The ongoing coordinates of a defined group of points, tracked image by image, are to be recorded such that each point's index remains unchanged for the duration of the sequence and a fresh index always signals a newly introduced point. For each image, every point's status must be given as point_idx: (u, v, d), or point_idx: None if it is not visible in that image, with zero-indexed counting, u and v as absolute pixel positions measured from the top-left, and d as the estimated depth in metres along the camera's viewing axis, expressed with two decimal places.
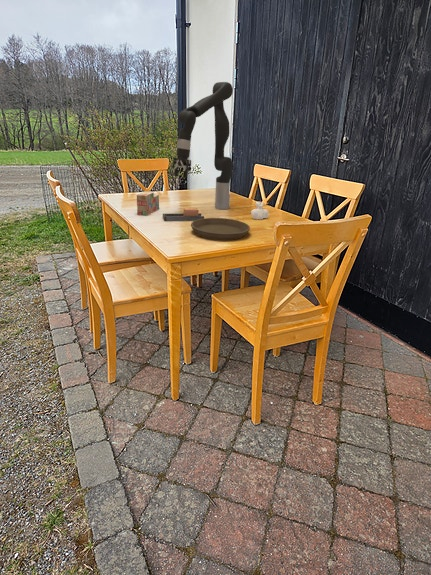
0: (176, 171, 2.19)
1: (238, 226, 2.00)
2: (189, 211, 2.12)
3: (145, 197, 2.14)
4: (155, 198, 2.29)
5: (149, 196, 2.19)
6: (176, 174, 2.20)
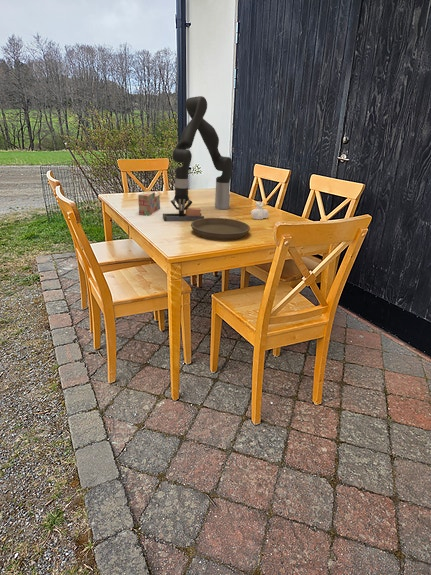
0: None
1: (238, 226, 2.00)
2: (191, 211, 2.13)
3: (147, 197, 2.15)
4: (156, 198, 2.30)
5: (151, 196, 2.19)
6: None
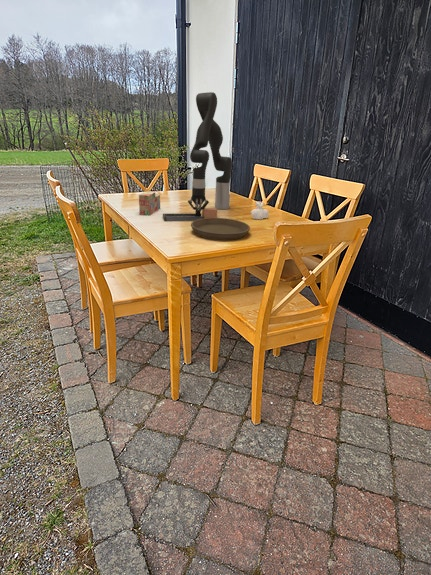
0: None
1: (238, 226, 2.00)
2: (208, 211, 2.15)
3: (147, 197, 2.15)
4: (156, 198, 2.30)
5: (151, 196, 2.20)
6: None
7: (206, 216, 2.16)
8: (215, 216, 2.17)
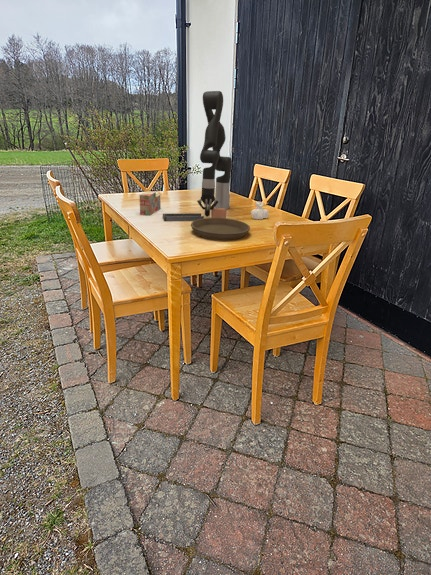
0: None
1: (238, 226, 2.00)
2: (217, 211, 2.16)
3: (148, 197, 2.16)
4: (157, 198, 2.30)
5: (152, 196, 2.20)
6: None
7: (215, 216, 2.17)
8: (224, 216, 2.19)
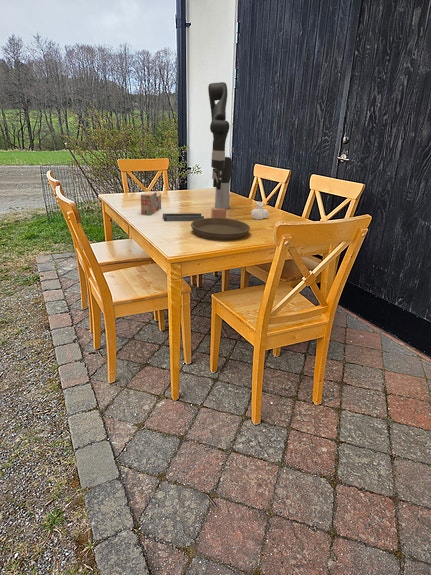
0: None
1: (238, 226, 2.00)
2: (217, 211, 2.16)
3: (149, 197, 2.16)
4: (158, 198, 2.31)
5: (153, 196, 2.20)
6: None
7: (215, 216, 2.17)
8: (224, 216, 2.19)
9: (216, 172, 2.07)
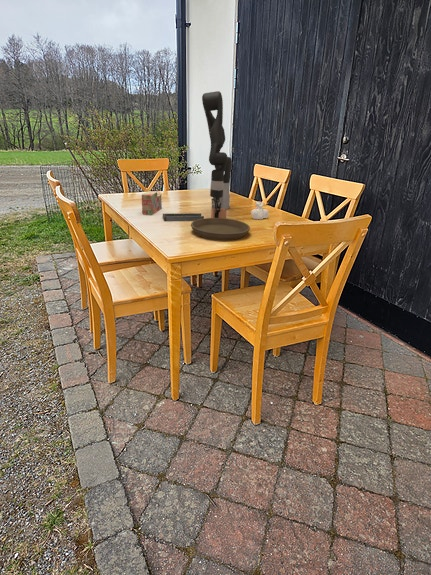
0: None
1: (238, 226, 2.00)
2: None
3: (150, 197, 2.16)
4: (158, 197, 2.31)
5: (154, 196, 2.21)
6: None
7: None
8: (224, 216, 2.19)
9: (215, 201, 2.14)
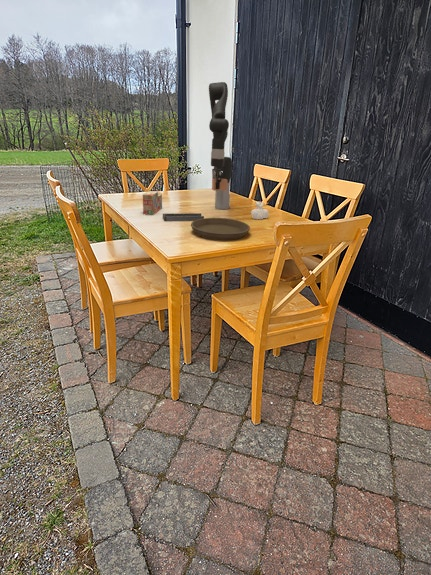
0: None
1: (238, 226, 2.00)
2: None
3: (151, 196, 2.17)
4: (159, 197, 2.32)
5: (154, 195, 2.21)
6: None
7: None
8: (225, 186, 2.12)
9: (216, 171, 2.07)
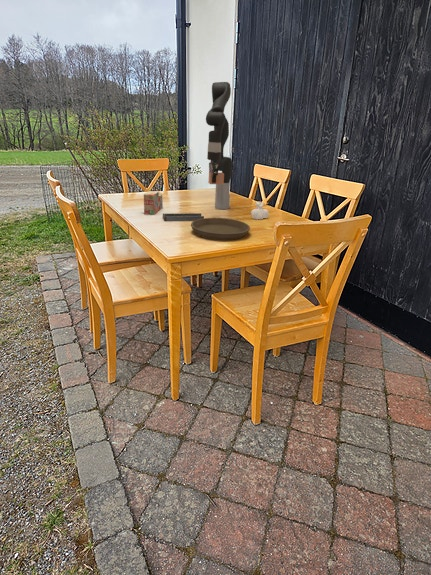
0: None
1: (238, 226, 2.00)
2: None
3: (152, 196, 2.17)
4: (159, 197, 2.32)
5: (155, 195, 2.22)
6: None
7: None
8: (222, 180, 2.12)
9: (212, 165, 2.07)
